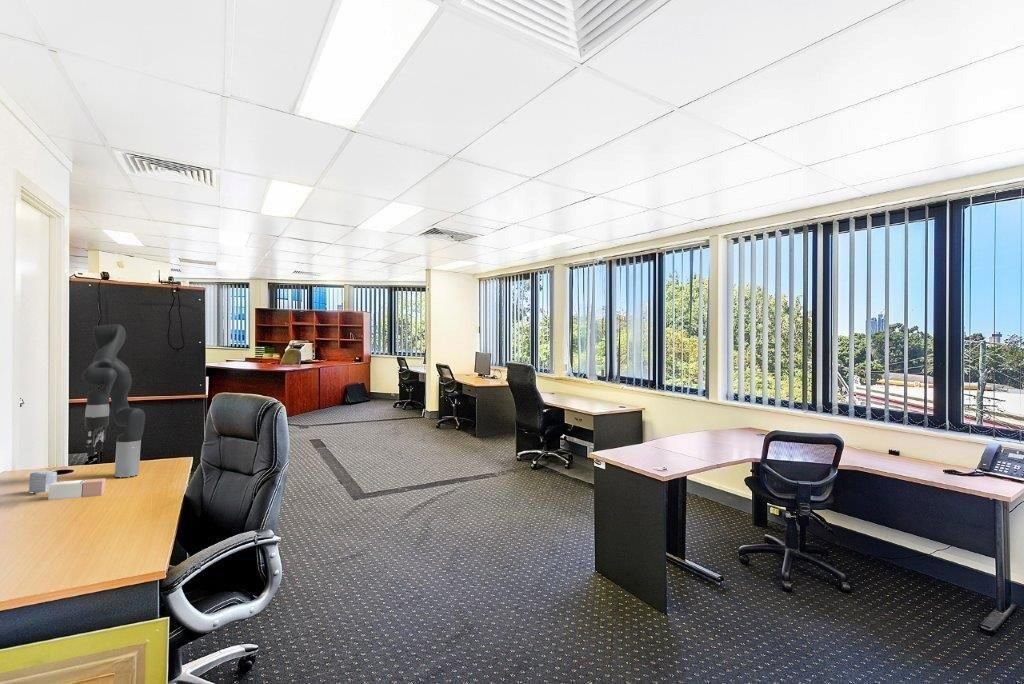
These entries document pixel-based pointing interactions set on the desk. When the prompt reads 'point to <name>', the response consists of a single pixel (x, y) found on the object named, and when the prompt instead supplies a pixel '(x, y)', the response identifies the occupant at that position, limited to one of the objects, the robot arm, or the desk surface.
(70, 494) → the ticket block
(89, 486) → the pink cube block
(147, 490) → the desk surface
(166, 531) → the desk surface
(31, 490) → the medicine box
